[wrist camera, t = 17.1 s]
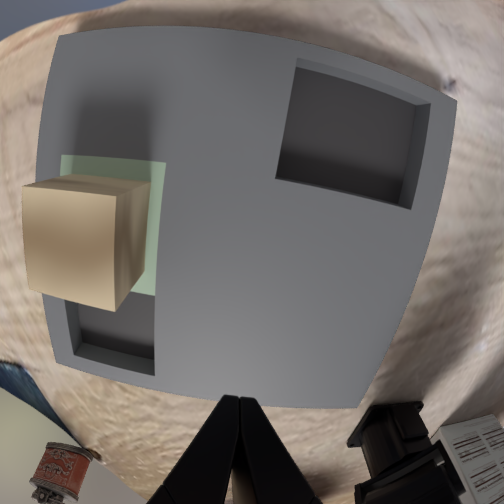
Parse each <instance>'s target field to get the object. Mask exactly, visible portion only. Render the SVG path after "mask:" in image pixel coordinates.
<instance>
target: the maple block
mask: <svg viewBox="0 0 504 504" xmlns="http://www.w3.org/2000/svg"><path fill="white" fill-rule="evenodd" d="M150 188H151V182H148V181H139V180H130V179H121V178H112V177H102V176H91V175H80V174H68V175H64V176H60V177H55V178H51V179H47V180H43V181H39V182H36V183H32V184H28V185H25V186H22V225H23V241H24V253H25V263H26V271H27V279H28V285H29V289H30V290H34V291H37V292H40V293H44V294H47V295H51V296H54V297H58V298H61V299H65V300H69V301H73V302H76V303H80V304H84V305H88V306H92V307H96V308H100V309H105V310H109V311H113V312H116V310H117V309H118V307H119V306H120V304H121V303H122V302H123V300H124V299H125V297H126V296H127V295H128V293H129V292H130V291H131V289H132V288H133V286H134V285H135V284H136V282H137V281H138V280H139V278H140V277H141V275H142V274H143V273H144V271H145V250H146V234H147V220H148V209H149V198H150Z"/></svg>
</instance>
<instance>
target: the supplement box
mask: <svg viewBox="0 0 504 504" xmlns="http://www.w3.org/2000/svg"><path fill="white" fill-rule="evenodd" d="M439 439H440V440H441V442H442V444H443V445H444V447H445V449H446V451H447V453H448V455H449V457H450V459H451V461H452V463H453V465H454V467H455V469H456V471H457V473H458V475H459V477H460V479H461V481H462V483H463V485H464V487H465V489H466V492H465V493H464V494H462V495H461V496H459V497H460V499H461V502H462V504H504V428H503V427H502V426H501V424H500V423H499V421H498V420H497V419H496V417H495V416H494V415H493V414H490V415H487V416H483V417H480V418H476V419H472V420H468V421H464V422H460V423H455V424H451V425H447V426H442V427H440V428H439V430H438V431H437V432H436V433H435V435H434V436H433V437H432V438H431V439H430V441H431V443H432V445H433V444H434V443H435V442H436V441H437V440H439ZM442 463H444V460H443V461H442V462H440V463H439V464H437V465H440V464H442Z"/></svg>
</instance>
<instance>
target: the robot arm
mask: <svg viewBox="0 0 504 504" xmlns="http://www.w3.org/2000/svg"><path fill="white" fill-rule="evenodd" d="M423 406H424V404H423V402H422V401H420V402H410V403H400V404H388V405H375V406H372V407H370V408H369V410H368V411H367V413H366V414H365V416H364V418H363V419H362V421H361V422H360V424H359V425H358V427H357V429H356V430H355V432H354V433H353V435H352V436H351V438H350V439H349V440H348V442H347V446H348V447H349V448H353V447H361V448H362V451H363V454H364V457H365V461H366V464H367V467H368V470H369V473H370V476H371V479H370V480H367V481H365V482H363V483H359V484H357V485H355V493H354V496H355V504H462V502H461V499H460V497H459V496H461V495H462V494H464V493H465V492H466V489H465V487H464V485H463V483H462V481H461V479H460V477H459V475H458V473H457V471H456V469H455V467H454V465H453V463H452V461H451V459H450V457H449V455H448V453H447V451H446V449H445V447H444V445H443V444H442V442H441V440H440V439H439V440H437V441H436V442H435V443H434V444H433V445H432V443H431V441H430V439H429V437H428V434H429V432H428V430H427V428H426V426H425V424H424V422H423V420H422V419H421V417H420V415H419V412H420V411H421V409H422V408H423ZM443 460H444V463H442V464H440V465H437V464H439V463H440V462H442V461H443ZM230 475H231V479H232V492H233V504H323V503H322V502H321V500H320V499H319V498H318V496H315V492H314V491H313V489H312V488H311V486H310V485H309V483H308V482H307V480H306V479H305V477H304V476H303V474H302V473H301V471H300V470H299V468H298V466H297V465H296V463H295V462H294V460H293V459H292V457H291V456H290V454H289V452H288V451H287V449H286V448H285V446H284V444H283V443H282V441H281V440H280V438H279V436H278V435H277V433H276V432H275V430H274V428H273V427H272V425H271V423H270V422H269V420H268V418H267V417H266V415H265V413H264V412H263V410H262V408H261V406H260V405H259V403H258V401H257V400H256V399H255V398H253V397H244V396H241V397H240V398H239V397H238V396H235V395H227V394H225V395H223V396H222V397H221V399H220V400H219V402H218V403H217V405H216V406H215V408H214V410H213V411H212V413H211V414H210V416H209V417H208V418H207V420H206V421H205V423H204V424H203V426H202V427H201V429H200V430H199V432H198V433H197V435H196V436H195V438H194V439H193V441H192V442H191V443H190V445H189V446H188V448H187V449H186V451H185V452H184V453H183V455H182V456H181V458H180V459H179V461H178V462H177V463H176V465H175V466H174V468H173V469H172V470H171V472H170V473H169V474H168V476H167V477H166V479H165V480H164V481H163V485H160V486H159V488H158V489H157V490H156V492H155V493H154V494H153V496H152V497H151V498H150V499H149V501H148V502H147V503H146V504H224V502H225V497H226V493H227V488H228V484H229V479H230Z"/></svg>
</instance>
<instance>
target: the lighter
mask: <svg viewBox="0 0 504 504" xmlns="http://www.w3.org/2000/svg"><path fill="white" fill-rule="evenodd" d="M92 459H93V456H92V454H91V453H89V452H88V451H87V450H85V449H83V448H80V447H76V446H72V445H68V444H63V443H56V442H48V443H47V445H46V451H45V453H44V455H43V457H42V459H41V461H40V463H39V465H38V467H37V469H36V472H35V474H34V476H33V478H31V479H30V481H29V482H30V484H31V485H32V486H34V487H35V488H36V490H35V492H33V494H32V496H31V498H32V499H33V500H35V501H36V502H38V503H40V504H65V503H63V500H66V501H70V502H75V503H77V501H78V498H79V497H78V493H79V491H80V487H81V485H82V482H83V479H84V477H85V474H86V471H87V468H88V466H89V464H90V463H91V462H92Z"/></svg>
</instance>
